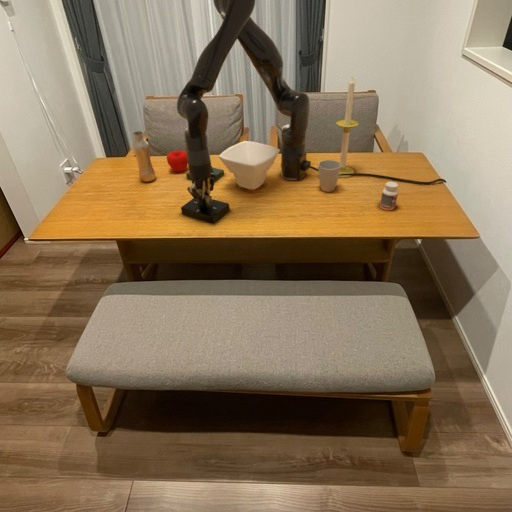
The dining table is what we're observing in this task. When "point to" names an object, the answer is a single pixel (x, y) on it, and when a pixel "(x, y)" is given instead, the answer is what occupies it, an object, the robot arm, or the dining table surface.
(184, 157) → the apple
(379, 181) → the dining table surface
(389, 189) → the pill bottle
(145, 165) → the plastic bottle
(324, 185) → the cup
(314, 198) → the dining table surface
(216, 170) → the dark grey base plate
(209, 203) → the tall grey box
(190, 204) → the panel
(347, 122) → the candle
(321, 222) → the dining table surface
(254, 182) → the bowl
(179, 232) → the dining table surface
